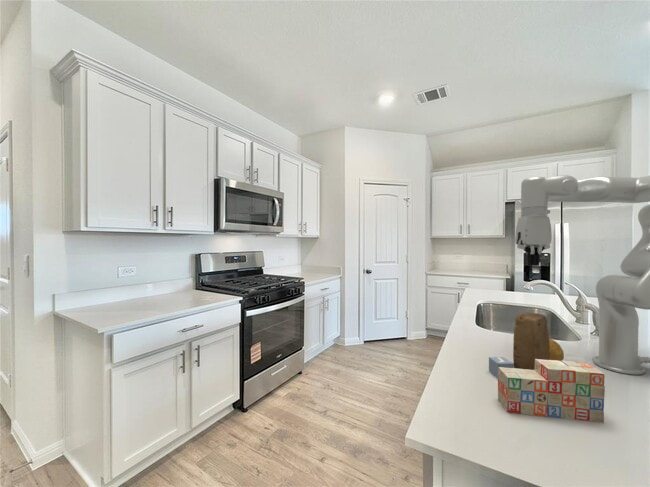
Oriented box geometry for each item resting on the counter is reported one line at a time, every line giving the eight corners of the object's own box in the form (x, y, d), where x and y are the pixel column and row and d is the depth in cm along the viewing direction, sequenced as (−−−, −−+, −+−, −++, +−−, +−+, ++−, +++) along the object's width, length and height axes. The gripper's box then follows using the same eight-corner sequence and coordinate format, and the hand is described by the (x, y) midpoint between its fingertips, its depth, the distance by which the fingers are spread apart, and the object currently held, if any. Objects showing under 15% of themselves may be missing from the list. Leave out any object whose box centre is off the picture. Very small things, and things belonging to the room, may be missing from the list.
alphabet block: (503, 371, 96) (503, 356, 96) (513, 379, 91) (513, 362, 91) (488, 371, 96) (488, 356, 96) (497, 379, 91) (497, 362, 91)
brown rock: (536, 384, 88) (537, 319, 87) (510, 374, 94) (510, 313, 94) (552, 375, 93) (553, 314, 93) (527, 366, 99) (527, 309, 99)
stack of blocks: (506, 413, 74) (507, 365, 73) (497, 399, 80) (497, 355, 79) (604, 423, 69) (605, 373, 69) (586, 408, 75) (587, 362, 75)
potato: (554, 343, 96) (567, 336, 101) (512, 334, 108) (525, 328, 112) (557, 371, 96) (570, 363, 101) (515, 359, 108) (528, 351, 113)
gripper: (547, 214, 104) (546, 264, 105) (505, 214, 104) (505, 264, 105) (564, 212, 97) (563, 266, 97) (519, 212, 97) (519, 266, 97)
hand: (533, 265), depth 101 cm, fingers closed
